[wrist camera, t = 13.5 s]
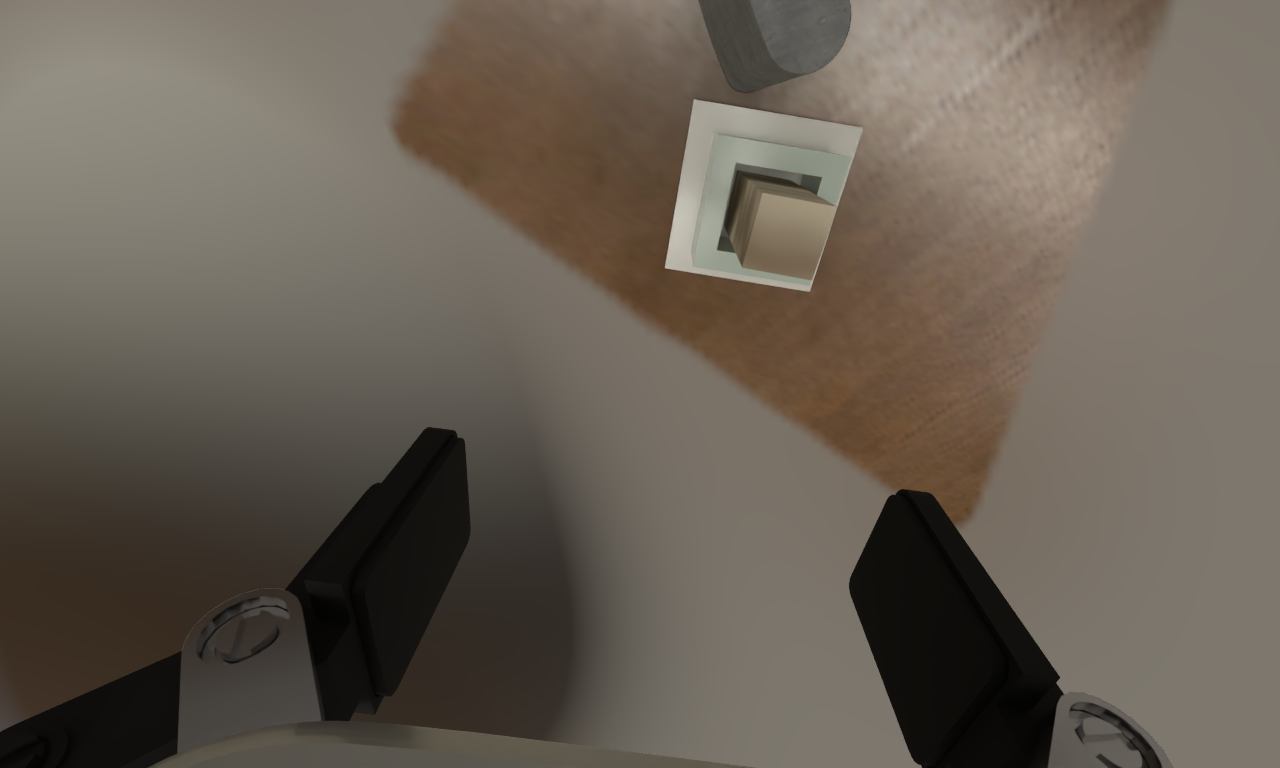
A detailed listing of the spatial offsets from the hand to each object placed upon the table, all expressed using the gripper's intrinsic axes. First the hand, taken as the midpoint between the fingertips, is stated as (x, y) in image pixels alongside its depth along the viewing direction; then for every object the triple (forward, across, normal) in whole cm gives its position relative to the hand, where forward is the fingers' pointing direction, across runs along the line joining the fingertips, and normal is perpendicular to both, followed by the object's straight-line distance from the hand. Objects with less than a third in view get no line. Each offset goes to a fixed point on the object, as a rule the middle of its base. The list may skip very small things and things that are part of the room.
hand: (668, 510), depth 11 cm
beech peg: (+31, -6, -3) cm, 32 cm away
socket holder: (+32, -6, -3) cm, 33 cm away
